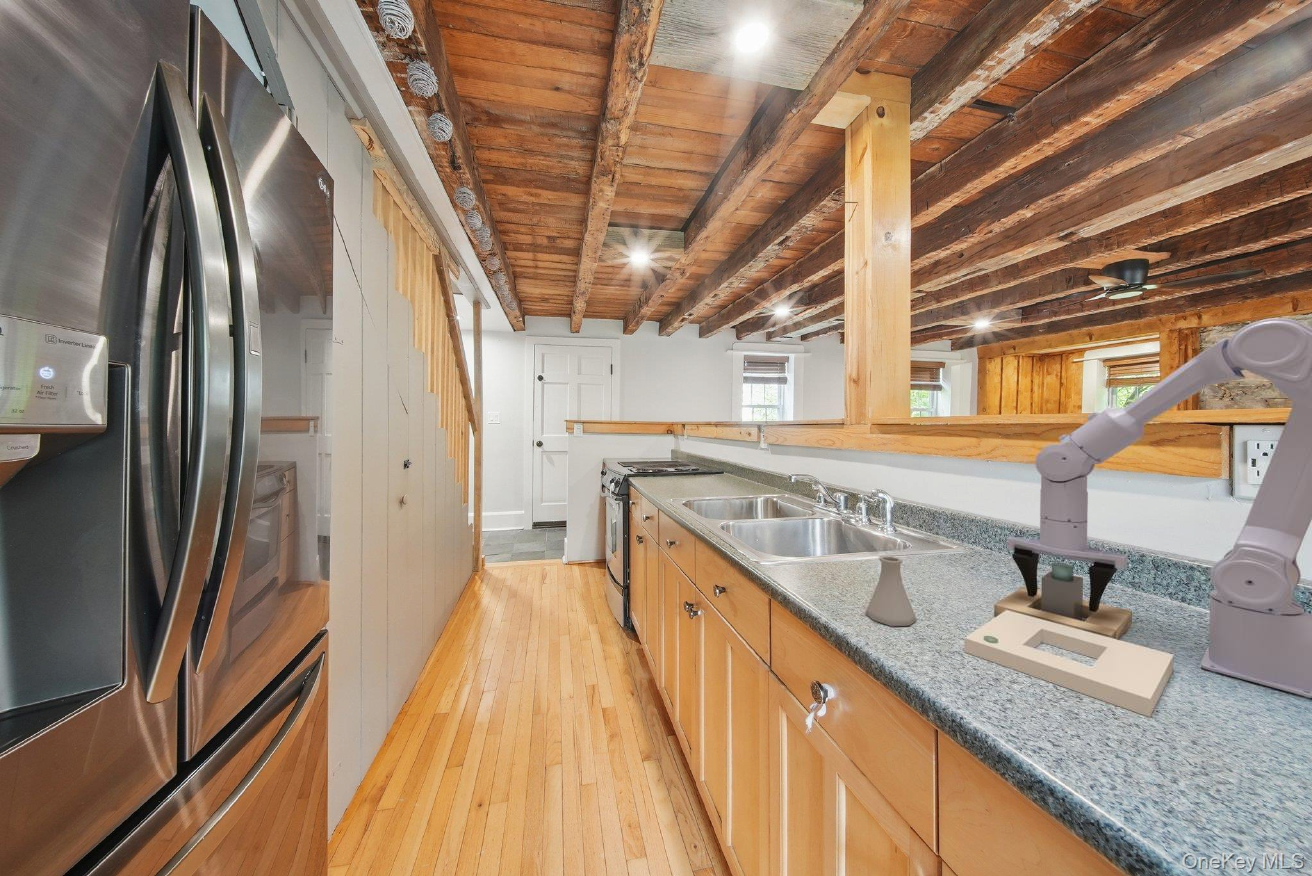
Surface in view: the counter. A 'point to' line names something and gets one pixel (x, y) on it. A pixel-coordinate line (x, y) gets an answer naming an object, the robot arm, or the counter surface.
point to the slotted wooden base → (1099, 622)
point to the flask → (890, 596)
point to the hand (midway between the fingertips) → (1061, 602)
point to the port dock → (1113, 678)
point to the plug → (1062, 592)
